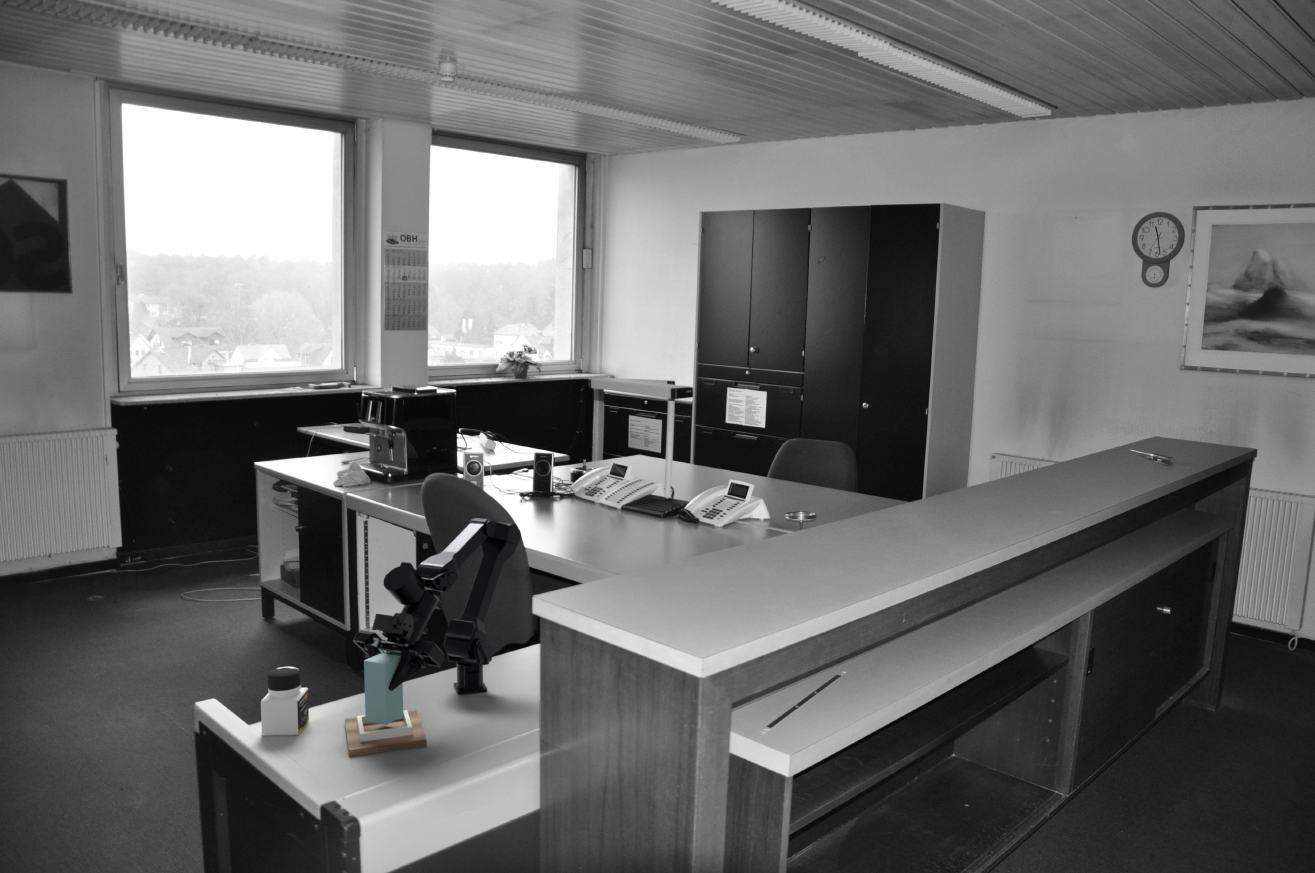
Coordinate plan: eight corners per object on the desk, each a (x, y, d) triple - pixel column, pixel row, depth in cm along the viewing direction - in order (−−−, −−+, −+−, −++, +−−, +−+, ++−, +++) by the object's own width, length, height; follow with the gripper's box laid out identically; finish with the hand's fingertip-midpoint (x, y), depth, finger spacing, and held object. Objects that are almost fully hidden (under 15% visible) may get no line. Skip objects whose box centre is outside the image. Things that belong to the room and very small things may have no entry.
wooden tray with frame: (344, 724, 190) (344, 711, 190) (416, 715, 195) (416, 702, 195) (349, 756, 176) (348, 742, 175) (426, 745, 180) (426, 731, 180)
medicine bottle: (299, 735, 185) (297, 675, 184) (261, 736, 185) (259, 676, 184) (309, 721, 192) (307, 663, 191) (273, 722, 192) (271, 664, 191)
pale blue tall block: (383, 711, 189) (381, 652, 187) (403, 715, 187) (401, 656, 185) (365, 720, 184) (364, 660, 183) (386, 724, 182) (384, 663, 181)
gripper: (357, 590, 191) (319, 661, 182) (434, 601, 183) (397, 675, 174) (385, 619, 198) (349, 687, 189) (459, 630, 191) (425, 702, 182)
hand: (379, 687), depth 183 cm, fingers closed on pale blue tall block, 5 cm apart
